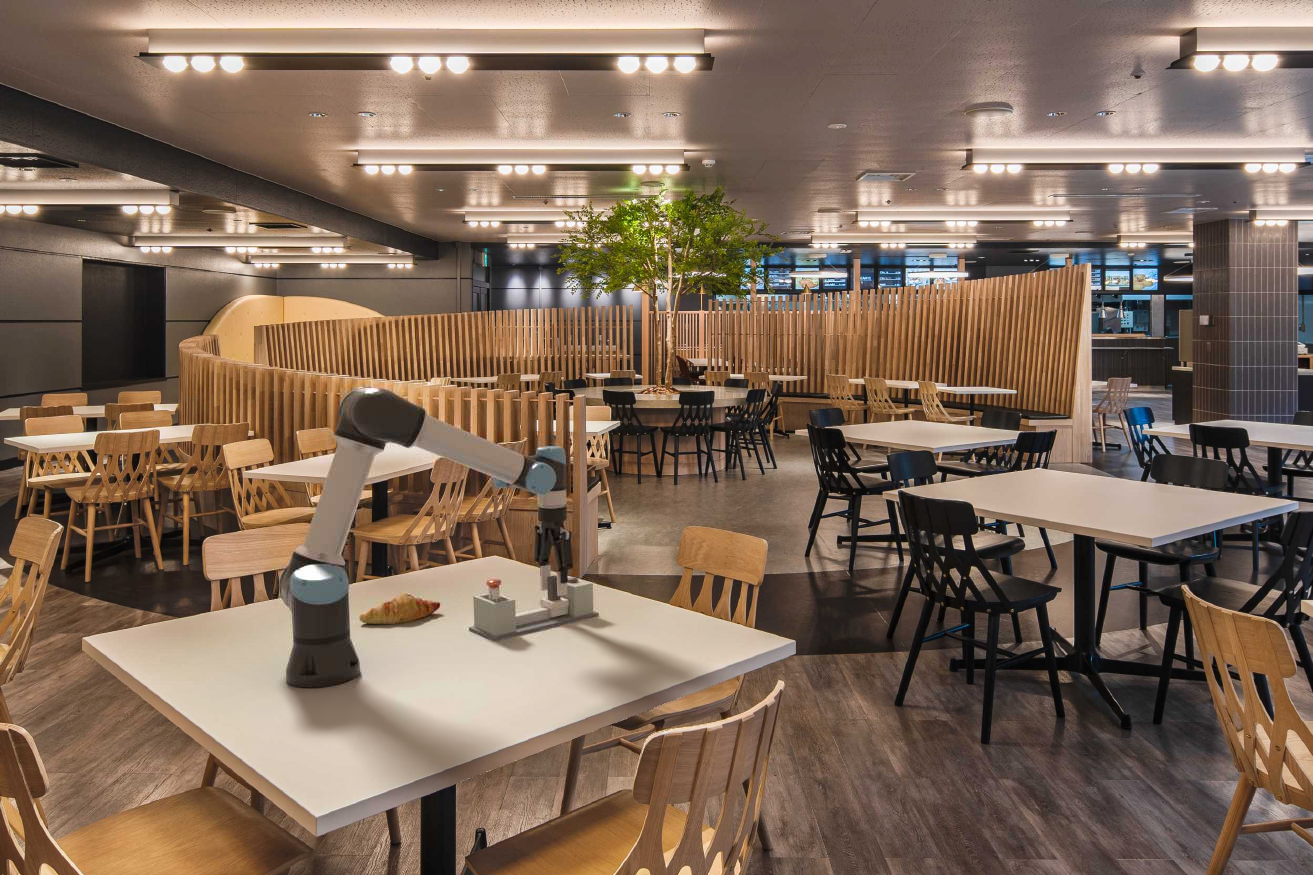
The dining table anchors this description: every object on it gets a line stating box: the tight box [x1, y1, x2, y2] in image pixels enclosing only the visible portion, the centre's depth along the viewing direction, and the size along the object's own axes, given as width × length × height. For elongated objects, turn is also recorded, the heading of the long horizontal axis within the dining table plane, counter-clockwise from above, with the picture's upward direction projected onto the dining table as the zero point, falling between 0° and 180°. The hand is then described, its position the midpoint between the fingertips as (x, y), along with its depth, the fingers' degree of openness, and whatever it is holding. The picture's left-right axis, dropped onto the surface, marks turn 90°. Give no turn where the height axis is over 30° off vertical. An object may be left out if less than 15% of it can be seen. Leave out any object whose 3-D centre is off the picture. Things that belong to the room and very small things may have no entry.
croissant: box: [358, 593, 441, 625], centre depth 241 cm, size 21×10×8 cm, turn 121°
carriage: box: [539, 575, 569, 617], centre depth 240 cm, size 5×6×10 cm
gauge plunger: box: [486, 578, 502, 603], centre depth 228 cm, size 4×4×9 cm
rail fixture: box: [468, 576, 600, 642], centre depth 236 cm, size 32×12×10 cm, turn 131°
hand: (554, 592), depth 240 cm, fingers open, 7 cm apart
